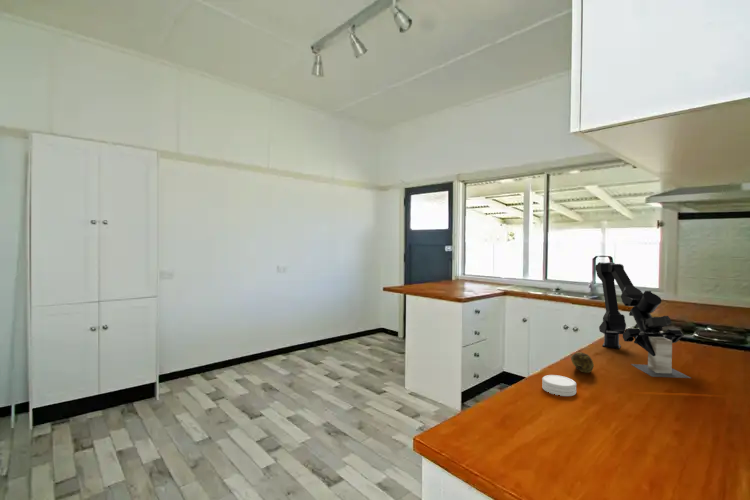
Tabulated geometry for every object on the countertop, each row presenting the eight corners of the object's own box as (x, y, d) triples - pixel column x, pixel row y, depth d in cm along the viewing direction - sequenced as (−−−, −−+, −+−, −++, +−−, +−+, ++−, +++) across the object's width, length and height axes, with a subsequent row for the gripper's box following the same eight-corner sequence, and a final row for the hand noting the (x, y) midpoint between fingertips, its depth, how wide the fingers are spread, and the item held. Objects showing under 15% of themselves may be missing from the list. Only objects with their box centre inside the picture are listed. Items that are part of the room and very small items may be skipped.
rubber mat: (630, 365, 141) (630, 364, 141) (666, 366, 139) (666, 365, 139) (651, 378, 128) (651, 376, 128) (691, 379, 126) (691, 378, 126)
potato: (600, 370, 135) (600, 349, 135) (589, 379, 126) (589, 357, 126) (576, 365, 141) (576, 345, 141) (564, 373, 132) (564, 352, 132)
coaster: (580, 390, 118) (580, 380, 118) (570, 400, 111) (570, 388, 111) (548, 382, 125) (548, 372, 125) (537, 390, 118) (537, 379, 118)
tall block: (647, 368, 136) (648, 336, 136) (662, 368, 136) (662, 337, 135) (656, 372, 131) (657, 340, 131) (671, 373, 131) (672, 340, 130)
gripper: (627, 307, 138) (644, 344, 127) (680, 308, 136) (702, 345, 125) (615, 323, 146) (631, 358, 135) (665, 324, 144) (685, 360, 133)
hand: (662, 355), depth 132 cm, fingers closed on tall block, 5 cm apart
